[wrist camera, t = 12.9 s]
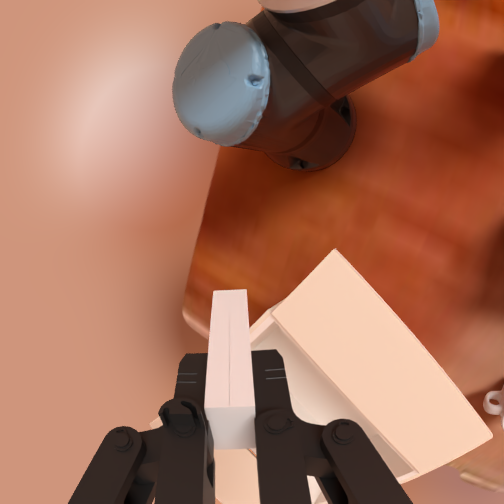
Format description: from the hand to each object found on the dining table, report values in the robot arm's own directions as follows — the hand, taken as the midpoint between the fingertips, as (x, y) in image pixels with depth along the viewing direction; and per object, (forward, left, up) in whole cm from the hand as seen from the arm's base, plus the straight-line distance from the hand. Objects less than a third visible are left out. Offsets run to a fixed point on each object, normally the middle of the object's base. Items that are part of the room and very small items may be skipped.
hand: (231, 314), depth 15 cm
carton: (+13, -15, -32) cm, 38 cm away
